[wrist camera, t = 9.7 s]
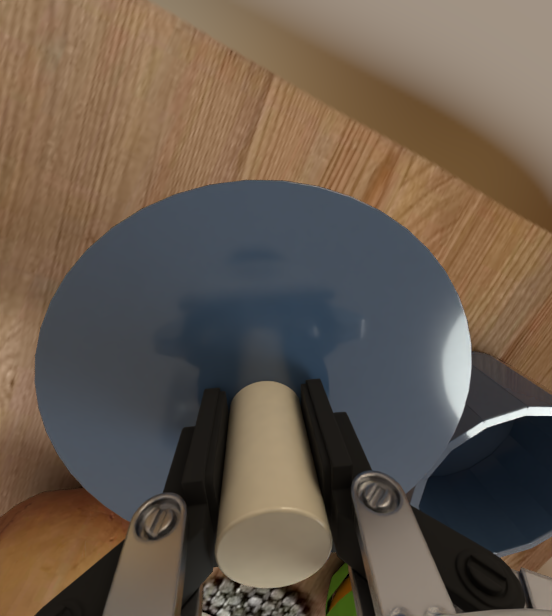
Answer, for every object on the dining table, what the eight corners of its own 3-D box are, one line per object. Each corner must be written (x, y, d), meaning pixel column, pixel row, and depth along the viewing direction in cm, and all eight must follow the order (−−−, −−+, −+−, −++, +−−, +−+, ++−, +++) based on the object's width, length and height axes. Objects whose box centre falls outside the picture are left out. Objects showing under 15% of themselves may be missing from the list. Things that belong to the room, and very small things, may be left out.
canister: (386, 494, 33) (425, 580, 26) (355, 381, 28) (393, 448, 20) (523, 451, 33) (604, 527, 25) (518, 328, 27) (620, 377, 20)
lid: (167, 563, 16) (119, 768, 10) (-47, 276, 10) (-437, 375, 4) (470, 471, 15) (602, 634, 9) (426, 108, 9) (695, -34, 4)
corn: (317, 687, 31) (431, 569, 26) (301, 595, 38) (388, 487, 33) (374, 689, 33) (490, 580, 28) (349, 601, 40) (438, 501, 35)
